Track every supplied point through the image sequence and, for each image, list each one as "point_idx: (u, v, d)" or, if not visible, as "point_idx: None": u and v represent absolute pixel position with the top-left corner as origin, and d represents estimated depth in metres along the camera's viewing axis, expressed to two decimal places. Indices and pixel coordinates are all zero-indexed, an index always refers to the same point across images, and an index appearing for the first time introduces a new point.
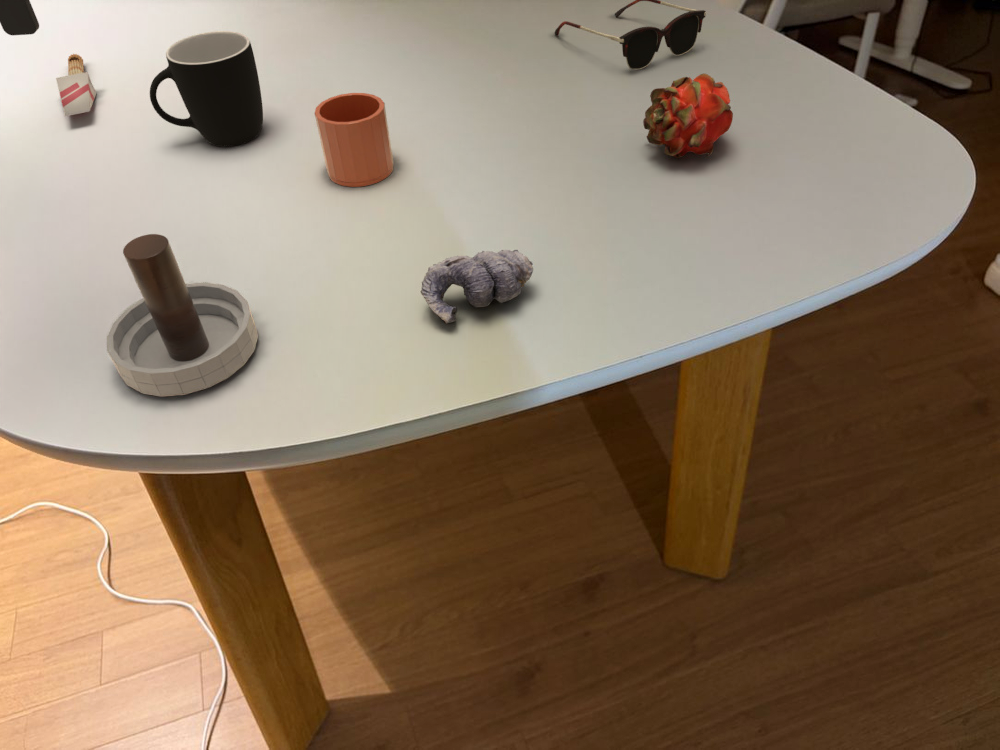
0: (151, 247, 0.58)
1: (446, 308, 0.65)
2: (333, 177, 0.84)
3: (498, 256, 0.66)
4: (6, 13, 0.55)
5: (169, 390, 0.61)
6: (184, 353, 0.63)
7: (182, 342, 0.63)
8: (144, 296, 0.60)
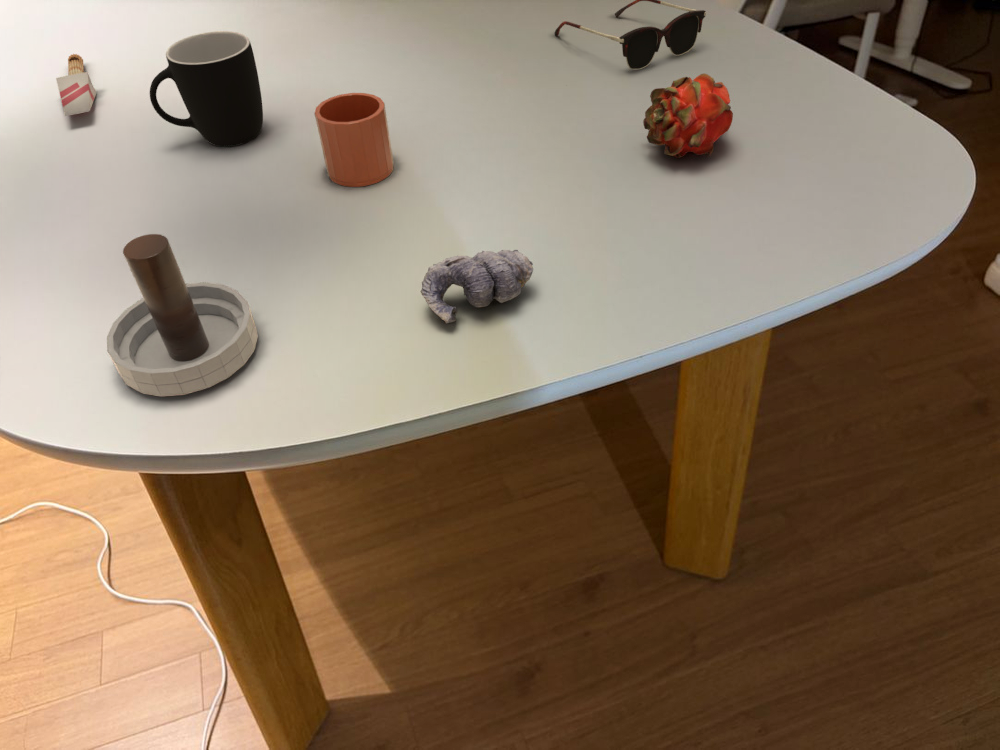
0: (151, 247, 0.58)
1: (446, 308, 0.65)
2: (333, 177, 0.84)
3: (498, 256, 0.66)
4: None
5: (169, 390, 0.61)
6: (184, 353, 0.63)
7: (182, 342, 0.63)
8: (144, 296, 0.60)
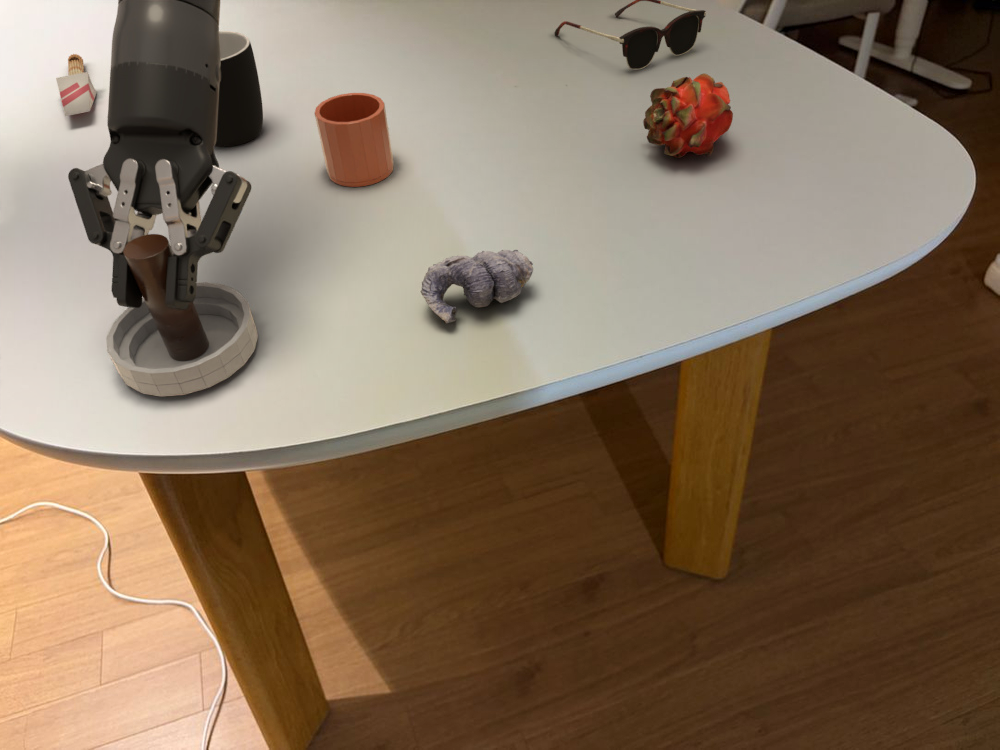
0: (151, 247, 0.58)
1: (446, 308, 0.65)
2: (333, 177, 0.84)
3: (498, 256, 0.66)
4: (131, 286, 0.59)
5: (169, 390, 0.61)
6: (185, 353, 0.63)
7: (182, 341, 0.63)
8: (144, 296, 0.60)
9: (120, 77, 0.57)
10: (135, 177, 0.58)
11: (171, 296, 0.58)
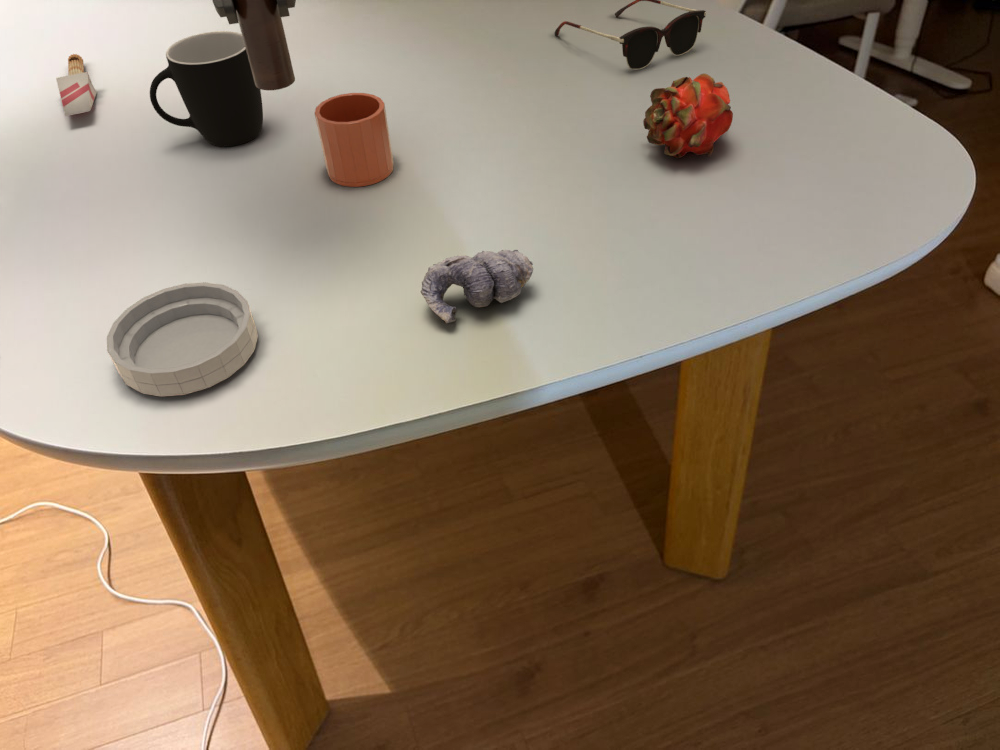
0: None
1: (446, 308, 0.65)
2: (333, 177, 0.84)
3: (498, 256, 0.66)
4: None
5: (169, 390, 0.61)
6: (281, 78, 0.63)
7: (279, 63, 0.63)
8: (244, 7, 0.59)
9: None
10: None
11: None
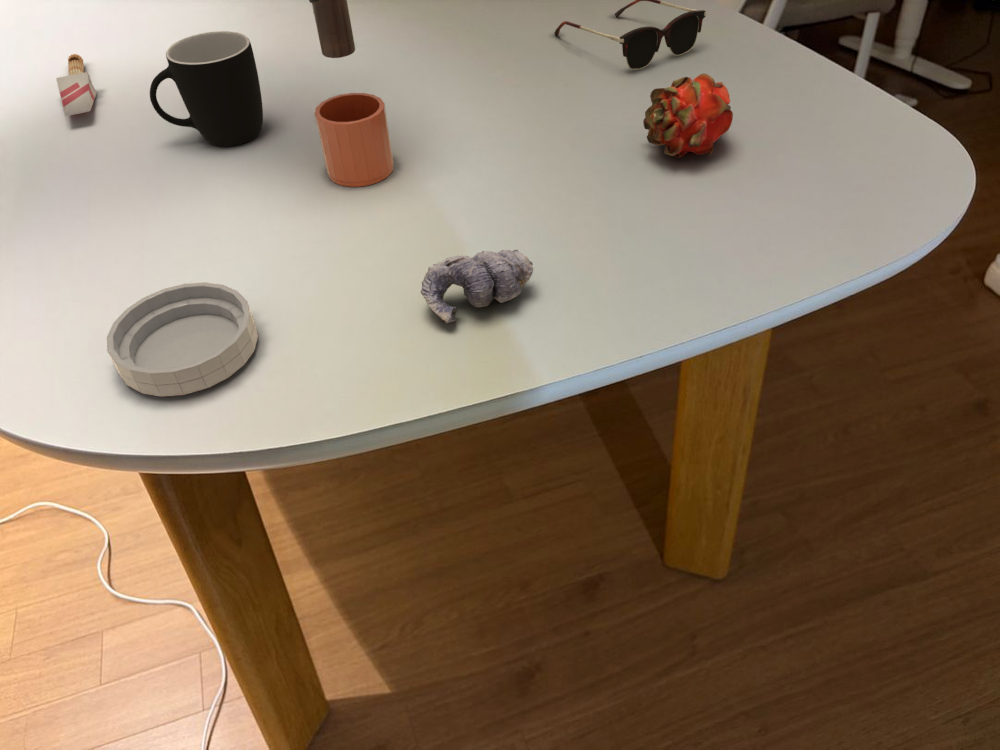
0: None
1: (446, 308, 0.65)
2: (333, 177, 0.84)
3: (498, 256, 0.66)
4: None
5: (169, 390, 0.61)
6: (349, 45, 0.76)
7: (348, 33, 0.75)
8: None
9: None
10: None
11: None
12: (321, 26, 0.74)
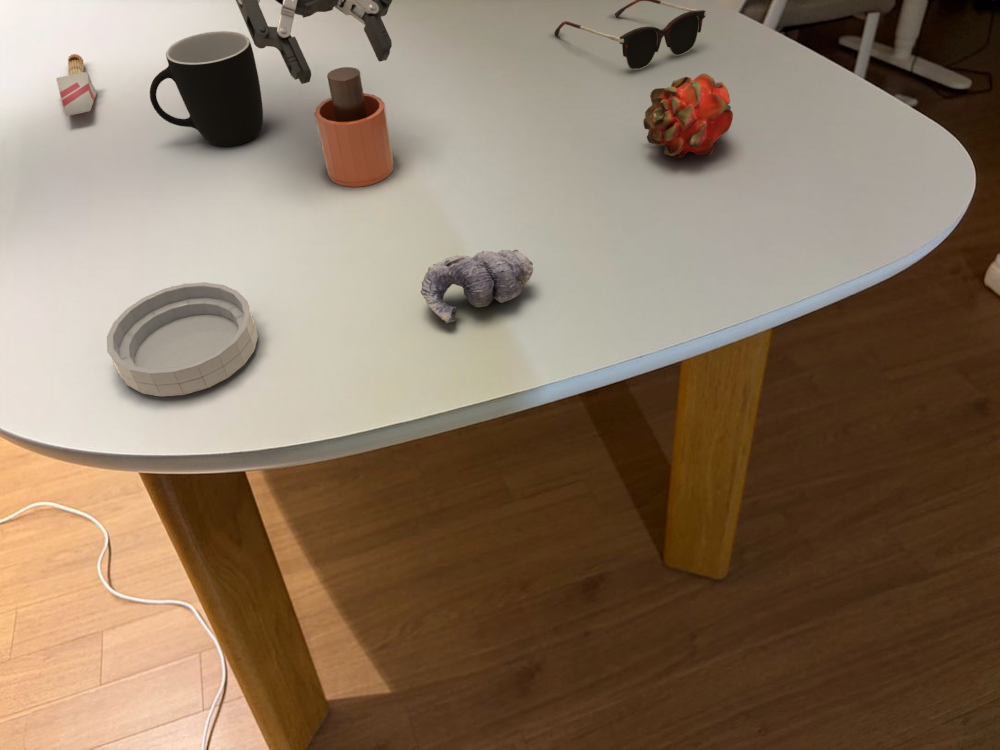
0: (348, 72, 0.79)
1: (446, 308, 0.65)
2: (333, 177, 0.84)
3: (498, 256, 0.66)
4: None
5: (169, 390, 0.61)
6: None
7: None
8: (348, 115, 0.80)
9: None
10: None
11: (385, 43, 0.78)
12: None
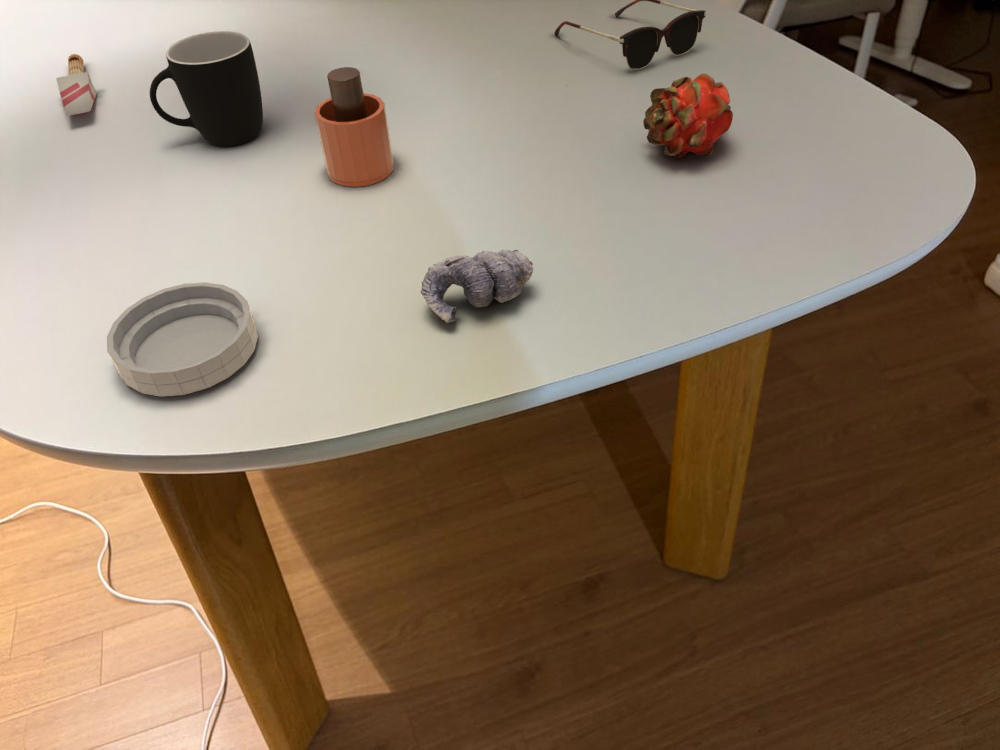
0: (348, 72, 0.79)
1: (446, 308, 0.65)
2: (333, 177, 0.84)
3: (498, 256, 0.66)
4: None
5: (169, 390, 0.61)
6: None
7: None
8: (348, 115, 0.80)
9: None
10: None
11: None
12: None
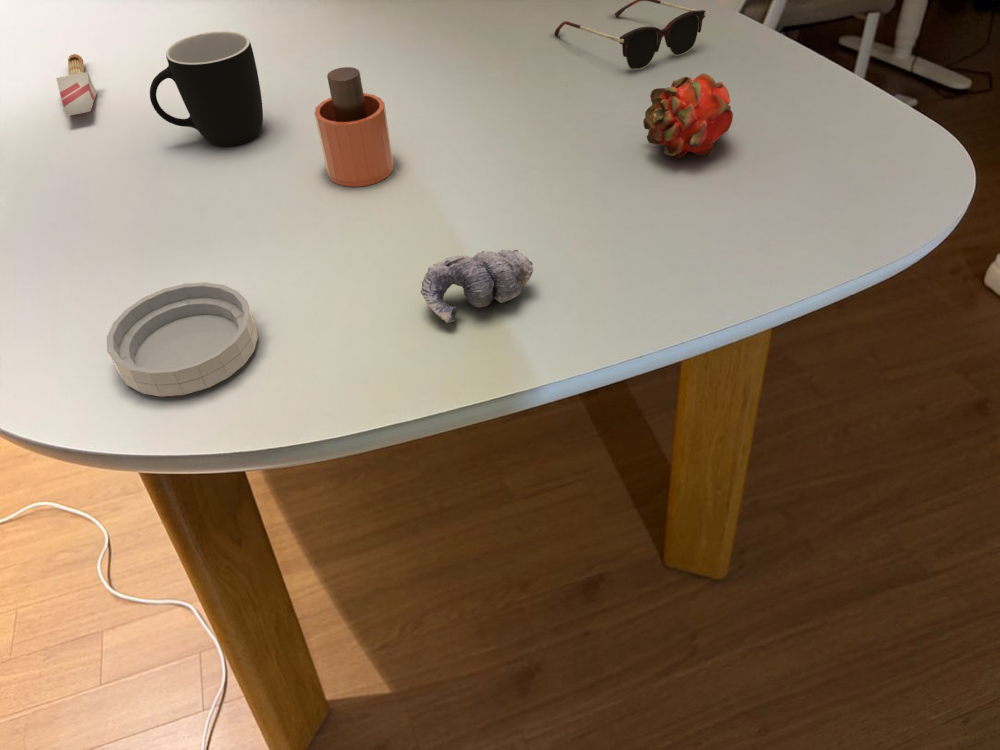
0: (348, 72, 0.79)
1: (446, 308, 0.65)
2: (333, 177, 0.84)
3: (498, 256, 0.66)
4: None
5: (169, 390, 0.61)
6: None
7: None
8: (348, 115, 0.80)
9: None
10: None
11: None
12: None
